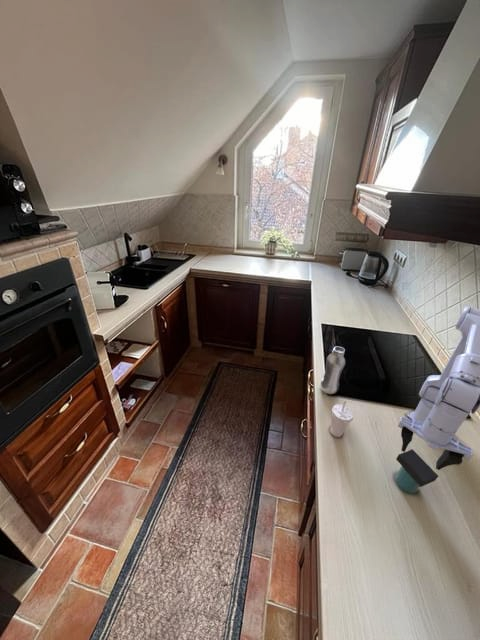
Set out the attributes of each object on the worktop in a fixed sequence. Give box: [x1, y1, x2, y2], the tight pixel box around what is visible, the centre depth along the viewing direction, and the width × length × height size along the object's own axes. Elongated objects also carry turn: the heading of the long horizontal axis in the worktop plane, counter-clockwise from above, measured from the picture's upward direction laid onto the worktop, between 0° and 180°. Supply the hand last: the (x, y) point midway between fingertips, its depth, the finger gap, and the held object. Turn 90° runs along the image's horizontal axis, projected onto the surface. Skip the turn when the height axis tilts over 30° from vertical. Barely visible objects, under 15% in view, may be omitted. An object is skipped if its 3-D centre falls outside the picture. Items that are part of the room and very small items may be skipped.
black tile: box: [395, 448, 439, 488], centre depth 66 cm, size 8×5×2 cm, turn 19°
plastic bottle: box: [320, 345, 346, 395], centre depth 95 cm, size 6×7×20 cm
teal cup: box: [394, 465, 421, 495], centre depth 68 cm, size 5×5×6 cm
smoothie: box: [329, 399, 355, 438], centre depth 80 cm, size 6×6×14 cm
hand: (420, 457), depth 66 cm, fingers open, 7 cm apart
